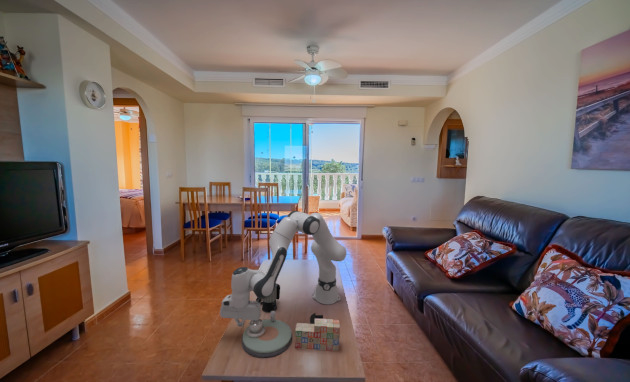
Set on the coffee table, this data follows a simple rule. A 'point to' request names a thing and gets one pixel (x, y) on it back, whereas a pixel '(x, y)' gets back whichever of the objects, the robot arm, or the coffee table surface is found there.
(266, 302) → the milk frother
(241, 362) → the coffee table surface
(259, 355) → the turntable base
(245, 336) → the turntable
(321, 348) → the stack of blocks
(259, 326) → the cover
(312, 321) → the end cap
